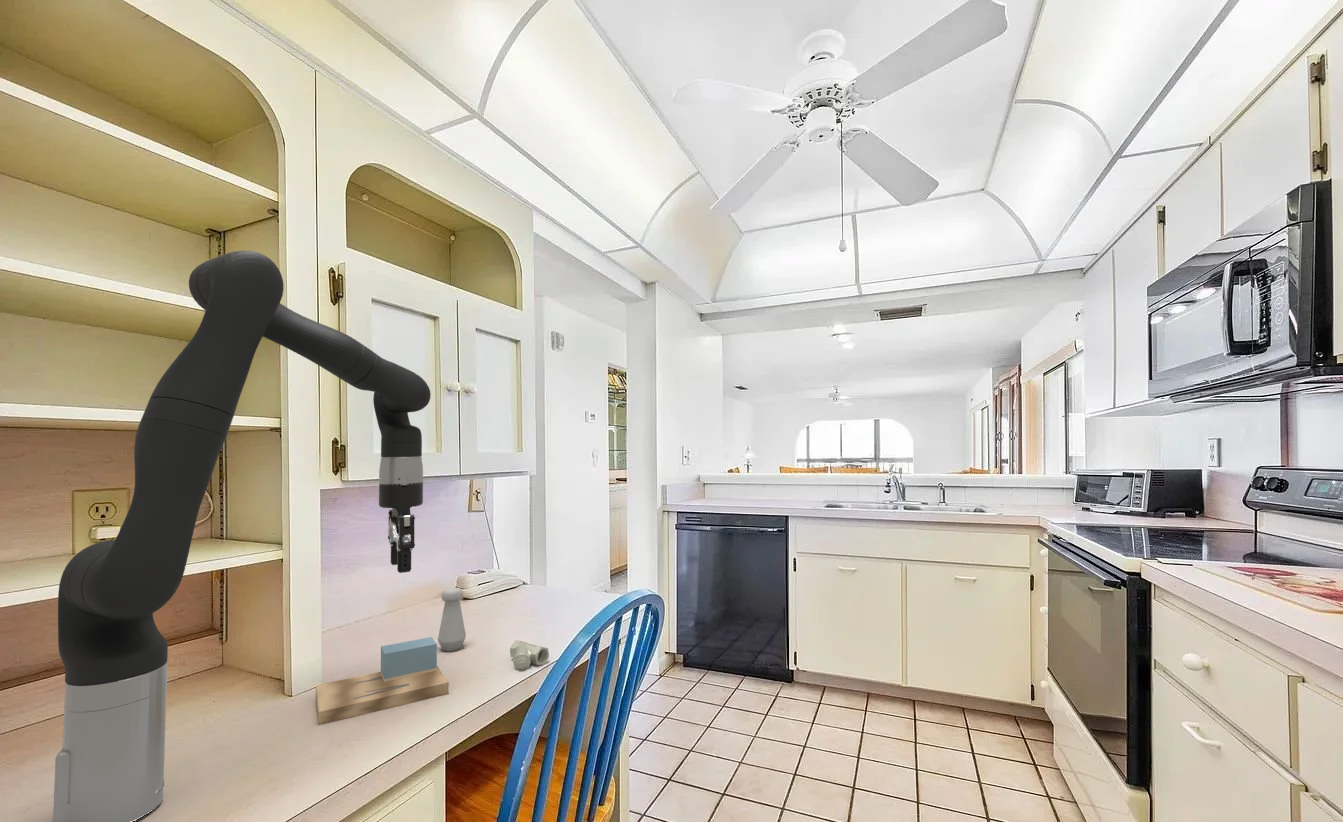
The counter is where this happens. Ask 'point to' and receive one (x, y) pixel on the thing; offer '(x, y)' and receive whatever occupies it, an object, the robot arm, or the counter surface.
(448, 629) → the salt shaker
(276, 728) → the counter surface
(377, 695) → the oak board
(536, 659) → the pipe fitting
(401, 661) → the block
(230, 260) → the robot arm
